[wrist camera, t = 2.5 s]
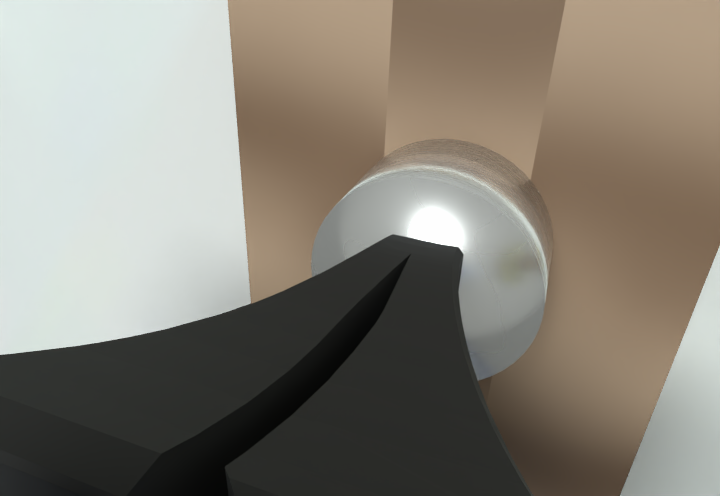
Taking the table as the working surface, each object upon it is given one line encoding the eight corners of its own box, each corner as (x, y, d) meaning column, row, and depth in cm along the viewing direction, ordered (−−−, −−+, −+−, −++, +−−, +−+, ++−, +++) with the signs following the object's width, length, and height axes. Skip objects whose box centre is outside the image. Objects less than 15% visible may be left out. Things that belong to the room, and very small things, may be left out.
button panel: (529, 676, 22) (523, 736, 20) (297, 583, 25) (276, 628, 23) (815, -107, 9) (863, -116, 8) (269, -116, 12) (218, -123, 10)
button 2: (539, 295, 14) (520, 409, 11) (375, 260, 16) (312, 352, 12) (577, 126, 12) (570, 201, 9) (383, 101, 13) (310, 159, 10)
